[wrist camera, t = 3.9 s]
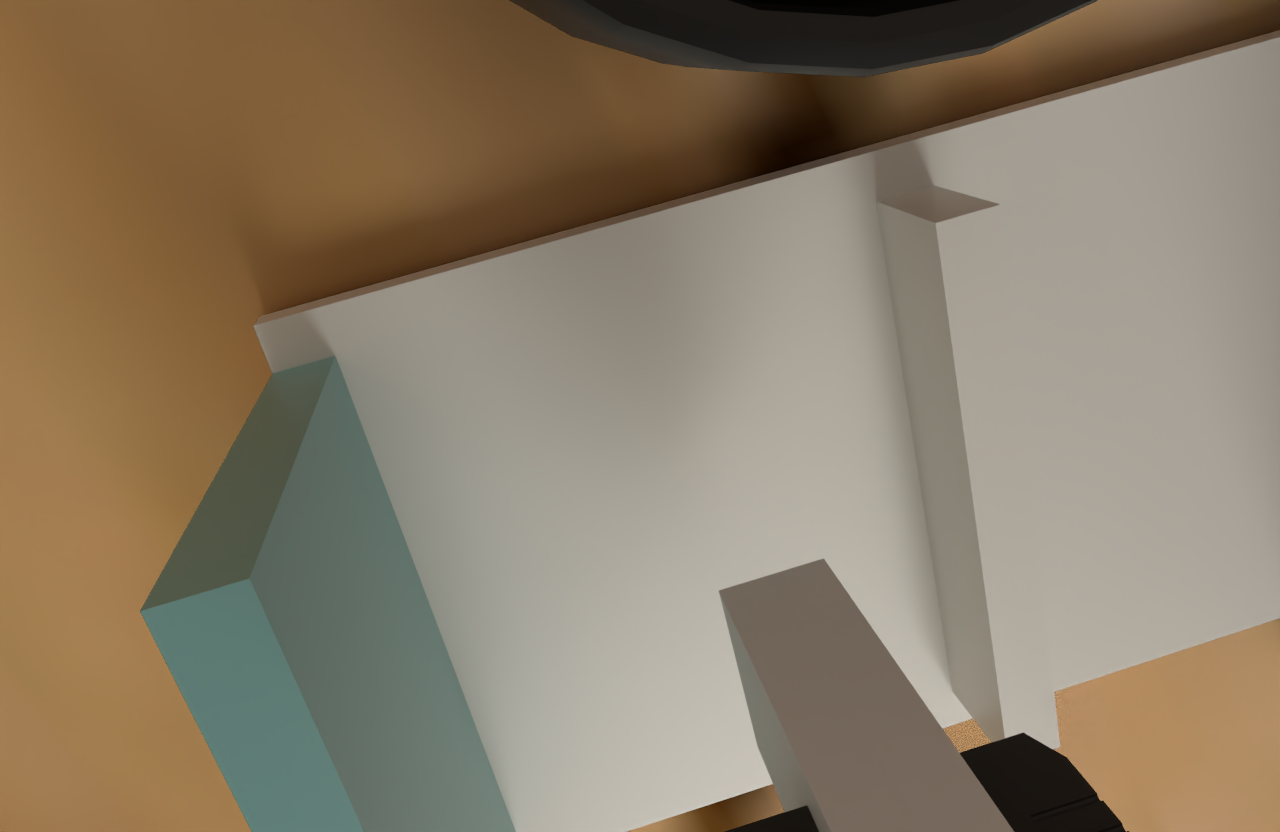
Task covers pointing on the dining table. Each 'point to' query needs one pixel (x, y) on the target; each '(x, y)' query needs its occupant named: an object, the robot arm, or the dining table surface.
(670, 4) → the mug
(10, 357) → the dining table surface
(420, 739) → the narrow white tray
